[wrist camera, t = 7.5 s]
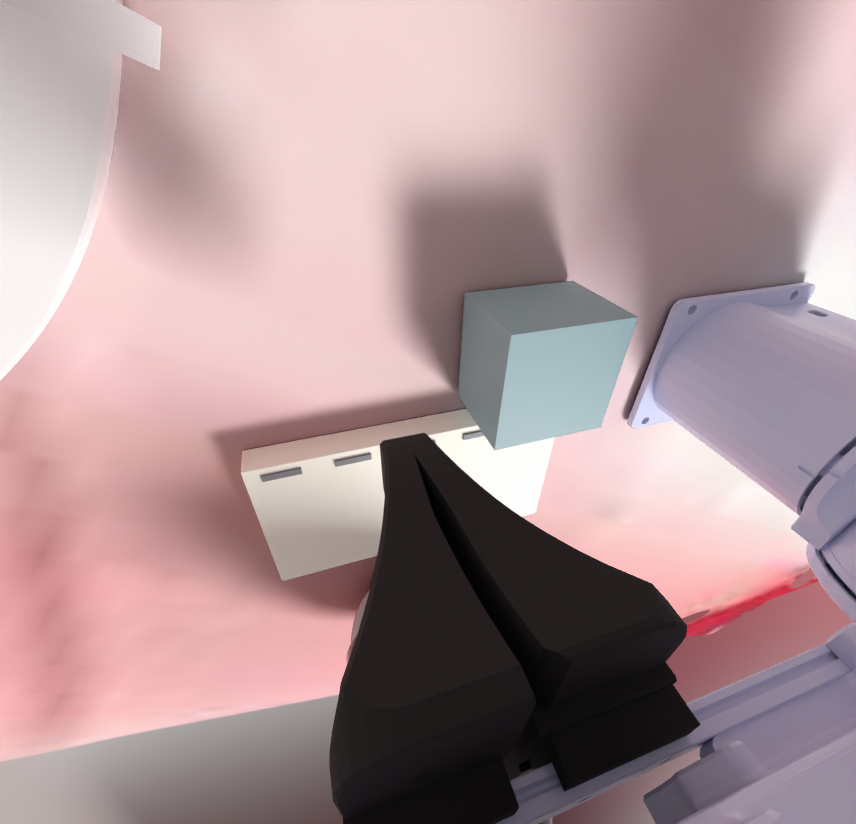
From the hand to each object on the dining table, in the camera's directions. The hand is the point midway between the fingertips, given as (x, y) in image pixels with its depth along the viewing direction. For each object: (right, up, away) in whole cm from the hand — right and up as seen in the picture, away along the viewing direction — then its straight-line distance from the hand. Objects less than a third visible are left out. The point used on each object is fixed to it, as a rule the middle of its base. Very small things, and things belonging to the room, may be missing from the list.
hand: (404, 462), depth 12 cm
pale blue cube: (+4, +5, +6) cm, 9 cm away
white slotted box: (0, -2, +10) cm, 10 cm away
